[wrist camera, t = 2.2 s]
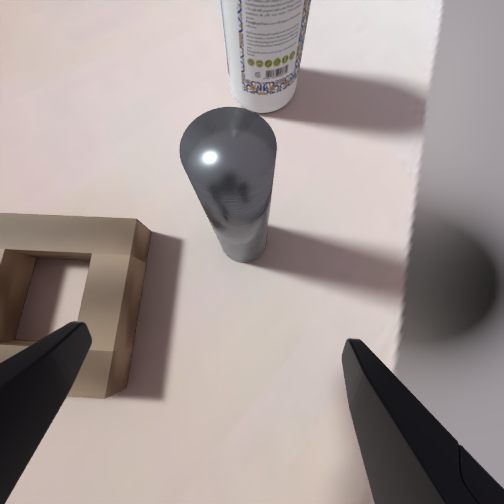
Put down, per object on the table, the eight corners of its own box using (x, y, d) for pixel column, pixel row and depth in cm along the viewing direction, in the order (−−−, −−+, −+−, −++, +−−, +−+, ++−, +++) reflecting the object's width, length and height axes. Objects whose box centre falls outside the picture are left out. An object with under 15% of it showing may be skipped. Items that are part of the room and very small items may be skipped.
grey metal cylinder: (264, 263, 23) (275, 193, 10) (219, 261, 23) (173, 189, 10) (266, 220, 24) (278, 108, 11) (223, 218, 24) (185, 105, 11)
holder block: (126, 387, 20) (104, 398, 17) (-33, 377, 21) (-81, 386, 18) (151, 231, 24) (136, 218, 21) (13, 225, 24) (-20, 212, 21)
